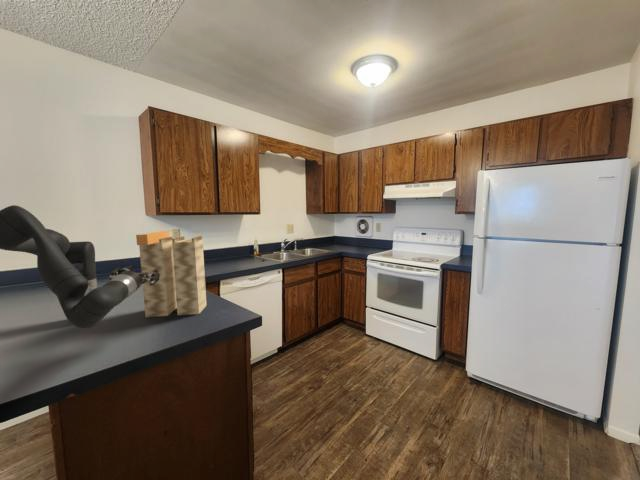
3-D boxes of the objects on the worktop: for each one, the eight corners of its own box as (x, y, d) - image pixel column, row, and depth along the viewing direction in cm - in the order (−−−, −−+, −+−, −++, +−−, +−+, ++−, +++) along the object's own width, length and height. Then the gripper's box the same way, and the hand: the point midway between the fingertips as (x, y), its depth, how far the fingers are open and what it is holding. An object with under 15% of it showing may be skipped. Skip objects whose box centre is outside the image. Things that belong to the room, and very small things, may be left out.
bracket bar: (137, 245, 104) (136, 235, 104) (161, 239, 124) (160, 231, 123) (147, 244, 104) (147, 234, 104) (170, 239, 124) (169, 231, 124)
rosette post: (145, 317, 113) (138, 239, 110) (157, 307, 124) (152, 237, 121) (167, 315, 114) (161, 239, 111) (178, 306, 125) (172, 236, 122)
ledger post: (177, 315, 115) (171, 239, 111) (186, 306, 126) (182, 236, 122) (199, 314, 116) (194, 238, 112) (206, 305, 127) (202, 236, 123)
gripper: (96, 293, 85) (122, 275, 101) (145, 299, 89) (162, 281, 105) (99, 271, 84) (124, 257, 100) (148, 278, 88) (165, 263, 103)
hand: (144, 269), depth 102 cm, fingers open, 8 cm apart
